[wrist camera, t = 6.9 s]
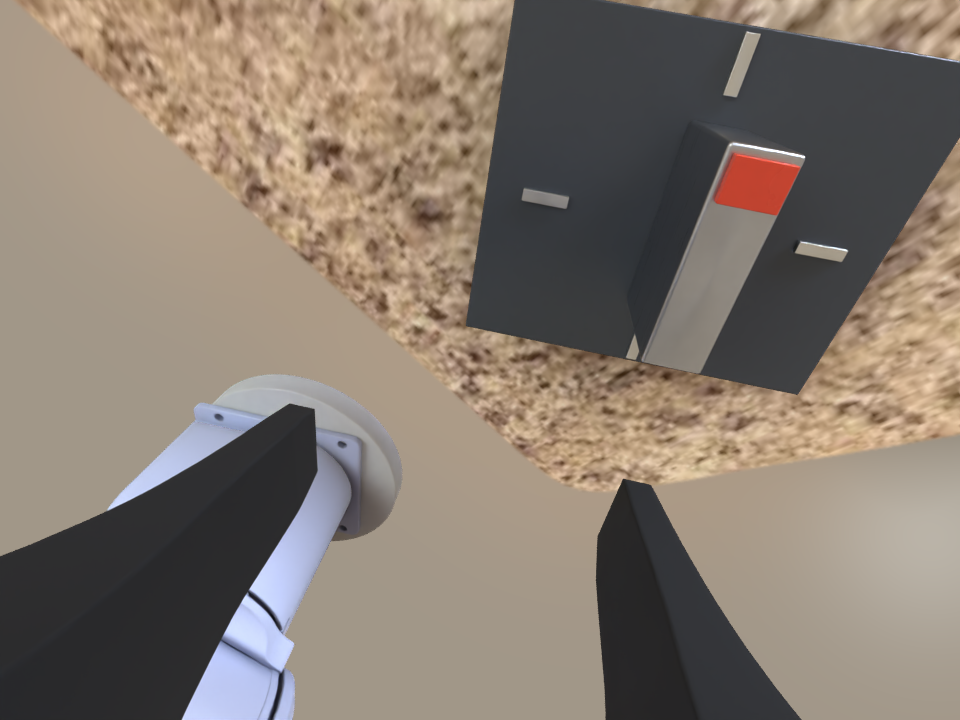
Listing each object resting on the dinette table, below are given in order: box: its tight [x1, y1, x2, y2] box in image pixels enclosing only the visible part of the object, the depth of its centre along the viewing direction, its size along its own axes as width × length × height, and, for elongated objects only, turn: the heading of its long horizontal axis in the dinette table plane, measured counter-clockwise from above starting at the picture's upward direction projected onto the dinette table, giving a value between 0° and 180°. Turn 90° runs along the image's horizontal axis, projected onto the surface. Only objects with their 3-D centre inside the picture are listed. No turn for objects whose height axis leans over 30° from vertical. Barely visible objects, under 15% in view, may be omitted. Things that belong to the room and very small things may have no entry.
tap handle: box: [627, 121, 805, 374], centre depth 13 cm, size 6×2×4 cm, turn 171°
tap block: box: [466, 0, 960, 395], centre depth 16 cm, size 12×10×3 cm
